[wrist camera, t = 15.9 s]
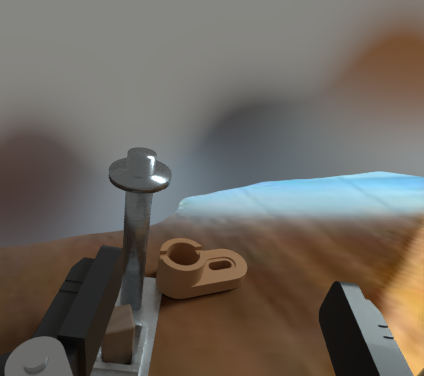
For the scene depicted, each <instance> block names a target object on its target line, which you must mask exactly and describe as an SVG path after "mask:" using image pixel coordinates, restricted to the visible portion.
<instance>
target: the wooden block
mask: <svg viewBox="0 0 424 376" xmlns="http://www.w3.org/2000/svg"><path fill="white" fill-rule="evenodd" d="M134 334H135V323H134V318H133V313H132V308H131V306H130V304H126V305H121V306H116V307H114V309H113V312H112V315H111V318H110V321H109V324H108V326H107V329H106V332H105V335H104V338H103V341H102V344H101V355H102V362H105V363H114V364H125V363H129V362H131V361H132V356H133V345H134Z"/></svg>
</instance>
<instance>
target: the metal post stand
mask: <svg viewBox="0 0 424 376" xmlns="http://www.w3.org/2000/svg"><path fill="white" fill-rule="evenodd" d="M156 156H157V155H156V153H155V152H154V151H153V150H151V149H147V148H132V149H130V150H129V151H128V156H127V158H123V159H120V160H117V161H115V162H114V163H112V164H111V165H110V167H109V179H110V182H111V183H112V184H113V185H114V186H116V187H118V188H120V189H122V190H124V191H126V196H125V215H124V235H123V251H124V252H123V273H122V283H121V288H120V292H119V295H118V298H117V301H116V304H115V307H116V306H121V305H126V304H130V306H131V308H132V313H133V318H134V323H135V334H134V345H133V356H132V361H131V362H129V363H125V364H114V363H105V362H102V355H101V346H100V349H99V352H98V355H97V358H96V361H95V363H94V366H93V369H92V372H91V375H90V376H148V371H149V366H150V360H151V354H152V348H153V343H154V337H155V331H156V326H157V320H158V314H159V309H160V303H161V297H162V292H161V291H160V290H159V289H158V287H157V285H156V278H149V277H144V274H145V264H146V254H147V245H148V235H149V225H150V215H151V204H152V194H153V193H155V192H158V191H161V190H163V189H165V188H167V187H168V186H169V184H170V181H171V170H170V169H169V168H168V167H167V166H166V165H165V164H163V163H161V162H159V161H156Z"/></svg>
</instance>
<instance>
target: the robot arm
mask: <svg viewBox="0 0 424 376" xmlns="http://www.w3.org/2000/svg"><path fill="white" fill-rule="evenodd" d="M123 252H124V251H123V248H118V247H112V246H105V245H102V246H101V248H100V250H99V252H98V254H97V256H96V258H95V259H91V258H83V259H82V260H80V261H79V262H78V263H77V264H75V265H74V266H73V267H72V268H71V270H70V272H69V274H68V275H67V277H66V279H65V282H63V284H62V286H61V288H60V289H59V292H58V293H57V295H56V296H55V298H54V300H53V302H52V304H51V305H50V307H49V309H48V311H47V312H46V314H45V316H44V318H43V319H42V321H41V323H40V325H39V327H38V328H37V330H36V332H35V333H34V335H33V336H32V337H31V338H30V339H29V340H28V341H26V342H24V343H22V344H21V345H20V346H18V347H17V348H16V349H15V350H14V351H12V352H10V353H7V354H4V355H0V376H90V375H91V372H92V369H93V366H94V363H95V361H96V358H97V355H98V352H99V349H100V346H101V344H102V341H103V338H104V335H105V332H106V329H107V326H108V324H109V321H110V318H111V315H112V312H113V309H114V307H115V304H116V301H117V298H118V295H119V292H120V288H121V283H122V273H123ZM319 323H320V326H321V329H322V333H323V336H324V339H325V342H326V346H327V349H328V352H329V355H330V358H331V362H332V365H333V368H334V371H335V374H336V376H414V375H413V374H412V372H411V370H410V368H409V366H408V364H407V362H406V360H405V358H404V356H403V354H402V352H401V350H400V349H399V347H398V345H397V343H396V341H395V340H394V339H393V338H394V337H393V335H392V333H391V331H390V329H388V325H387V324H386V322H385V320H384V318H383V316H382V314H381V312H380V311H379V310H378V309H377V308H376V307H375V306H374V305H373V304H372V302H371V301H370V300H365V298H364V296H363V294H362V292H361V290H360V288H359V286H358V285H357V284H353V283H346V282H339V281H335V282H334V283H333V284H332V286H331V288H330V290H329V292H328V294H327V295H326V297H325V299H324V301H323V303H322V305H321V307H320V310H319ZM417 376H424V368H423V370H422V371H421V372H420V373H419V374H418V375H417Z"/></svg>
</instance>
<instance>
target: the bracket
mask: <svg viewBox="0 0 424 376" xmlns="http://www.w3.org/2000/svg"><path fill="white" fill-rule="evenodd" d="M201 247H202V246H201V245H200V244H198V243H197V242H195V241H192V240H190V239H185V238H176V239H171V240H169V241H167V242H165V243H164V244H163V245H162V247H161V250H160V256H159V262H158V268H157V274H156V285H157V287H158V289H159V290H160V291H161V292H162V293H163V294H164V295H166V296H168V297H171V298H175V299H185V298H190V297H195V296H200V295H205V294H210V293H216V292H221V291H226V290H231V289H235V288H237V287H239V286H240V285H241V284H242V283H243V280H244V277H245V274H246V272H247V264H246V262H245V260H244V259H243V258H242V257H241V256H240V255H239V254H237V253H236V252H234V251H231V250H227V249H215V250H207V251H202V250H201Z"/></svg>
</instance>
